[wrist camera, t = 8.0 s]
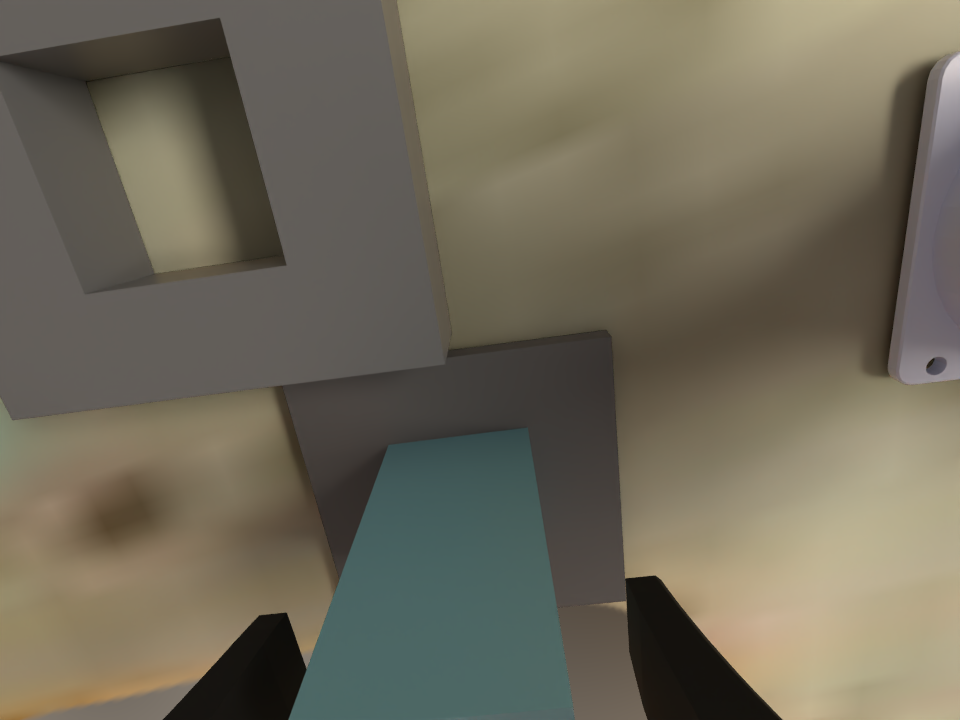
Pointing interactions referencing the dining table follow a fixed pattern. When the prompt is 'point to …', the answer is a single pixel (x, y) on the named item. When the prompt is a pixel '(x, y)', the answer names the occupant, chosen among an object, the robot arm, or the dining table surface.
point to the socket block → (225, 287)
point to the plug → (444, 594)
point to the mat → (481, 409)
